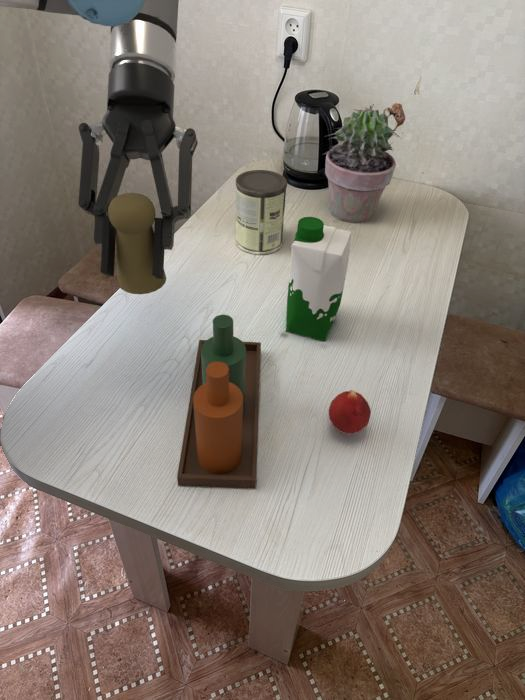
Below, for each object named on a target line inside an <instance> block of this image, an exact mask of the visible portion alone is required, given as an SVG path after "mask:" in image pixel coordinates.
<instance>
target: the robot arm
mask: <svg viewBox="0 0 525 700" xmlns="http://www.w3.org/2000/svg"><path fill="white" fill-rule="evenodd" d="M179 1H180V0H0V7H5V8H14V9H25V10H34V11H38V12H45V13H49V14H50V13H52V14H60V15H69V16H79V17H80V18H82V19H83V20H86V21H88V22H90V23H91V24H94V25H100V26H104V27H110V43H109V57H108V59H109V61H108V67H109V72H108V78H107V80H108V81H107V97H106V98H107V100H106V111H105V114H104V116H103V117H102V120H101V122H98V123H95V124H91V125H89V124H88V123H86V122H81V123H79V125H78V132H79V136H80V139H81V142H82V147H81V160H80V161H81V162H80V174H79V175H80V176H79V187H78V189H79V190H78V201H77V202H78V206H79V208H81V209H82V210H83V212H85V213H86V214H88V215H91V216H94V227H93V228H94V229H93V241H94V244H95V245H97V246H98V247H101V257H100V273H101V274H102V275H105V276H106V277H113V278H114V277H115V263H116V262H115V261H116V228H115V227H114V226H113V225H112V224H111V222H110V220H109V215H108V207H109V204H110V202H111V201H112V199H114V198H115V197H117V196H119V192H120V188H121V185H122V182H123V179H124V176H125V173H126V171H127V169H128V168H129V166H130V163H131V160H138V159H142V160H145V161H149V162H150V166H151V171H152V175H153V181H154V186H155V189H156V194H157V199H158V203H159V204H158V205H159V208H160V214H161V217H155V221H154V225H153V226H154V228H153V231H154V247H153V268H152V275H153V276H154V277H156V278H157V279H163V271H165V251H166V250H167V251H171V250H173V248H174V244H175V226H176V223H177V222H178V221H181V220H189V219H190V217H191V216H192V188H193V187H192V186H193V185H192V183H193V157H194V154H195V151H196V149H197V146H198V137H197V134H196V130H195V129H193V128H191V127H189V128H187V129H185V128H182V127H179V126H177V125H176V122H175V119H174V108H175V107H174V105H175V83H174V82H175V78H176V64H177V63H176V62H177V61H176V60H177V38H178V37H177V35H178V17H179ZM105 135H107V137H108V138H109V140H110V141H111V142H112V147H111V149H110V158H109V162H108V164H107V167H106V170H105V172H104V177H103V180H102V183H101V186H100V189H99V192H98V183H99V167H100V148H99V146H101V145H102V144H103V138H104V136H105ZM173 139H176V140H175V143H176V146H177V148H178V179H177V181H178V182H177V205H175V206H174V205H173V201H172V196H171V191H170V186H169V183H168V177H167V172H166V168H165V162H164V158H163V152H164V150H166V148H167V147H168V146H169V145H170V144H171V142H172V141H173Z"/></svg>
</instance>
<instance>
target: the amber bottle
mask: <svg viewBox="0 0 525 700" xmlns="http://www.w3.org/2000/svg"><path fill="white" fill-rule="evenodd" d="M206 381H207V383H204V384H203V385H201V386H200V387H199V388H198V389H197V390H196V392H195V394H194V397H193V404H194V416H195V429H196V442H197V454H198V461H199V464H200V465H201V467H202V468H203V469H204V470H206V471H207V472H209V473H212V474H226V473H229V472H231V471H233V470H234V469H235V468H236V467H237V466H238V465H239V463H240V461H241V457H242V421H243V395H242V392H241V390H240V389H239V388H238V387H237V386H236V385H235V384H233V383H231V382H229V368H228V366H227V365H226V364H225V363H223V362H212V363H210V364H209V365H208V366H207V368H206Z"/></svg>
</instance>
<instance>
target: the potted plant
mask: <svg viewBox="0 0 525 700" xmlns="http://www.w3.org/2000/svg"><path fill="white" fill-rule="evenodd" d="M373 107H374V103H372V105H370V106H369V108H368V107H366V106H365V109H354V108H353V110H354V111H352V112H351V115H350V116H347V117H343V122H342V124H343V125H342V127H336V128H334V130H337V131H335V132H334V133H331V134H328V135H327V137H329V136H333V135H335V136H333V137H330V138H328V140H331V139H334V140H336V141H337V144H335V145H331V148H330V150H328V151H326V152H324V153H322V156H324V155H326V156H325V164H324V167H325V168H324V174H325V176H326V178H327V181H328V182H327V183H328V184H327V185H328V195H329V197H328V198H329V207H330V211H331V215H332V216H333V217H334V218H335V219H338V220H340V221H343V222H349V223H352V224H353V223H354V224H355V223H356V224H357V223H363V222H366V221H368V220H370V219H372V218H371V217H372V215H373V214H374V211H375V210H376V207H377V205H378V203H379V202H380V199H381V197H382V195H383V193H384V190H385V189H386V187H387V186H389V185H390V184H391V181H392V179H393V175H394V172H395V169H396V167H397V163H396V160H395V158H394V157H393V156H392V154H390V153H389V152H387V151H393V152H394V150H393V147H392V146H391V145H392V144H393V143H394V141H392V142H391V143H390V142H389V139H391V138H392V136H395V137H396V138H400V139H402V137H400V135H398V134H397V133H396V130H397V128H398V127H401V126H402V125H404V122H405V120H406V114H405V112H404V109H403V104H401V103H397V102H395V103H392V105H391V107H386V108H385V109H384V110H383V112H382V113H380V110H379V109H376V110H374V109H373ZM356 111H357V112H356ZM386 113H388V115H386ZM391 115H392V117H393V118H394V120H395V124H396V125H395V127H394V129H393V128H391V127H390V126H389V117H390V116H391ZM327 130H331V128H329V129H328V128H327ZM325 137H326V135H325V136H324V138H325ZM322 140H324V139H322ZM316 155H318V153H317V154H315V156H316Z"/></svg>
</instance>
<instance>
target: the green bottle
mask: <svg viewBox="0 0 525 700" xmlns="http://www.w3.org/2000/svg"><path fill="white" fill-rule="evenodd" d="M205 340H206V341H205V342H204V343H203V345H202V347H201V363H202V380H203V384H204V383H207V381H206V368H207V366H208V365H209V364H210V363H212V362H223V363H225V364H226V365H227V366H228V368H229V382H231V383H233V384H235V385H236V386H237V387H238V388H239V389H240V390H241V392H242V395H243V412H244V406H245V370H246V347H245V345H244V343H243V342H244V341H242V340H241V339H240V338H238V337H236V336H234V318H233V317H232V316H230V315H228V314H218V315H216V316H214V318H213V319H212V336H211V337H209V338H208V339H205Z"/></svg>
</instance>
